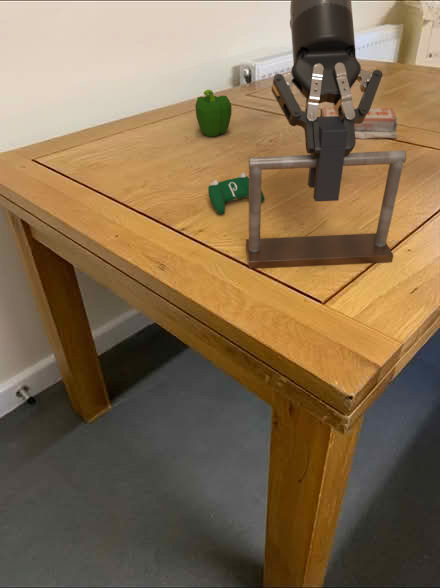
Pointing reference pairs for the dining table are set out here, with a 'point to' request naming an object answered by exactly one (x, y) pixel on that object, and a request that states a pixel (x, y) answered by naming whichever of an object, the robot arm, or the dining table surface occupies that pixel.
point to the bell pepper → (213, 113)
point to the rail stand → (321, 247)
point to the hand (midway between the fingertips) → (331, 154)
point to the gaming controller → (229, 191)
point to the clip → (329, 159)
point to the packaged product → (371, 123)
